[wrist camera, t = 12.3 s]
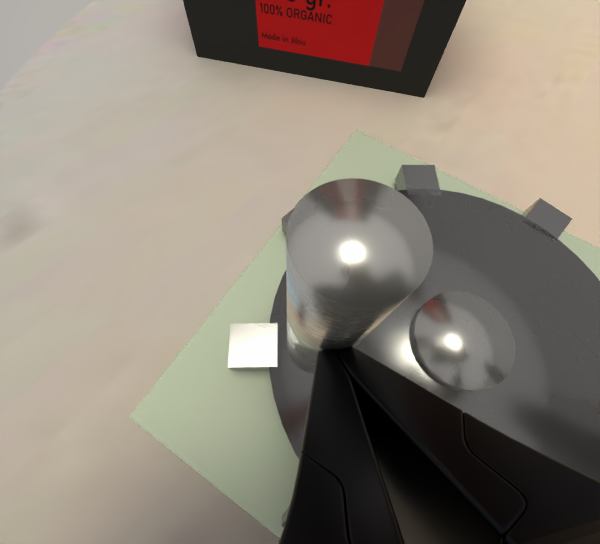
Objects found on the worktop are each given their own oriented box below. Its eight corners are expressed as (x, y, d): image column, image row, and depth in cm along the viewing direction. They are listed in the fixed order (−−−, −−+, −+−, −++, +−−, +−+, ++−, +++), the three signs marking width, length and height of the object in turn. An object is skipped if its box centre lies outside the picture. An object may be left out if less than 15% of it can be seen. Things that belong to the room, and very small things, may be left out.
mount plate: (683, 294, 17) (690, 292, 17) (604, 796, 10) (613, 807, 10) (355, 133, 21) (356, 129, 21) (131, 417, 14) (128, 417, 14)
